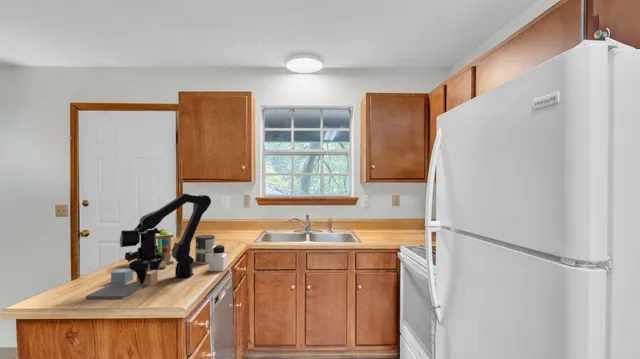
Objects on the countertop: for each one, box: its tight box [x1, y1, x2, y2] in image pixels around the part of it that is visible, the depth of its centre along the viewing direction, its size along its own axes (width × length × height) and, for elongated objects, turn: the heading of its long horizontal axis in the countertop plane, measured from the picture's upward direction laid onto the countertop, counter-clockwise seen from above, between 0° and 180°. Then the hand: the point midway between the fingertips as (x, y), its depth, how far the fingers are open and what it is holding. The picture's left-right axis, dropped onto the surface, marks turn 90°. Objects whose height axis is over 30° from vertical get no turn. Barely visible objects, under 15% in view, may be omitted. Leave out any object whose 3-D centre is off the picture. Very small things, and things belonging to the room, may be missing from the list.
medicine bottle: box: [208, 244, 228, 272], centre depth 161 cm, size 7×7×12 cm
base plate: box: [85, 283, 145, 300], centre depth 127 cm, size 14×14×1 cm
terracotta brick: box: [136, 269, 159, 286], centre depth 139 cm, size 6×6×5 cm
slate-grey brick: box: [110, 268, 134, 284], centre depth 141 cm, size 6×6×5 cm
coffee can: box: [194, 234, 216, 265], centre depth 177 cm, size 10×10×14 cm
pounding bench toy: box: [148, 228, 174, 270], centre depth 170 cm, size 23×14×18 cm, turn 36°
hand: (147, 280), depth 139 cm, fingers open, 9 cm apart
